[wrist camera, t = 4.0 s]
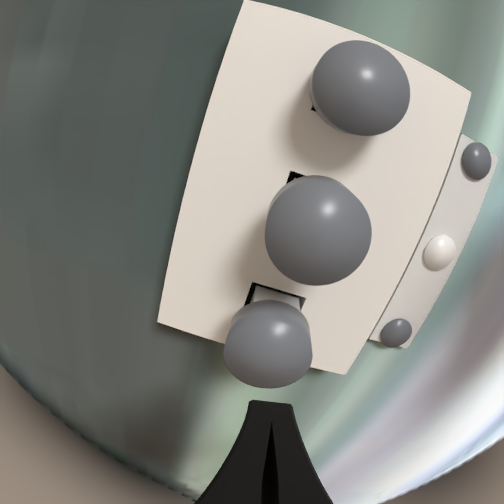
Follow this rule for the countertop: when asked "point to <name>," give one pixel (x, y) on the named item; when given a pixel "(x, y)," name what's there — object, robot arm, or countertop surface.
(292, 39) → the board
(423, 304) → the card
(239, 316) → the button
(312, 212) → the button
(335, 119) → the button
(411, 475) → the countertop surface
